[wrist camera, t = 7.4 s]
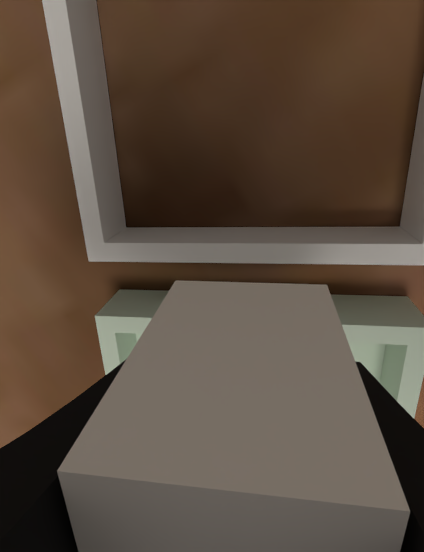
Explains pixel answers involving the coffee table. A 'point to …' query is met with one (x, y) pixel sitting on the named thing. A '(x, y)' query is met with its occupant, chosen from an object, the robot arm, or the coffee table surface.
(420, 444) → the robot arm
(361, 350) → the green bin
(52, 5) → the bin
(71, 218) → the coffee table surface
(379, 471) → the cream block
